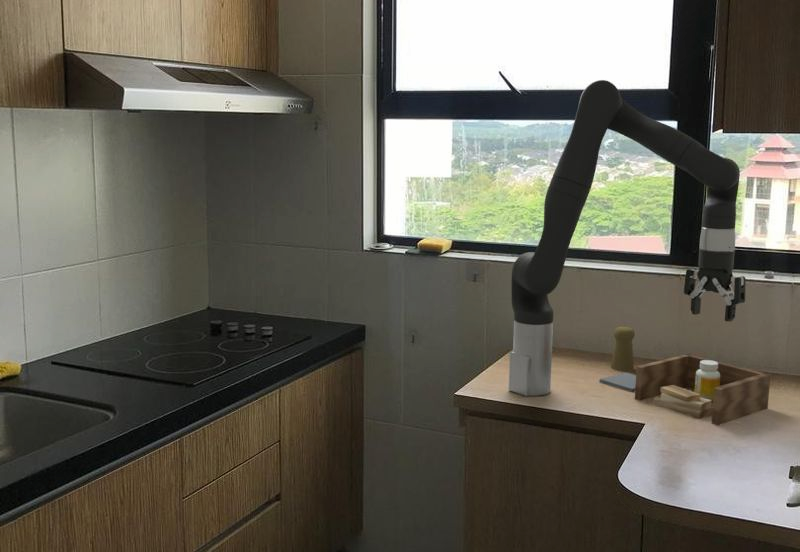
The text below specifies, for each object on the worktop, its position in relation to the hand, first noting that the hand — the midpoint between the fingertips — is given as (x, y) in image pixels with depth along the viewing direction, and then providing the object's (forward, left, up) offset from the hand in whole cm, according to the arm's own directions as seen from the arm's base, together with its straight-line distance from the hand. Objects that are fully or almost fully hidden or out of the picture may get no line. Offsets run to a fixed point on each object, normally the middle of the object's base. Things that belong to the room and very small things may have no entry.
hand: (712, 317), depth 202 cm
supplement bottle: (0, 0, -20) cm, 20 cm away
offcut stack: (-9, 0, -20) cm, 22 cm away
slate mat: (-3, +20, -20) cm, 29 cm away
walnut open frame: (-3, 0, -20) cm, 20 cm away
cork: (+7, +30, -20) cm, 37 cm away
